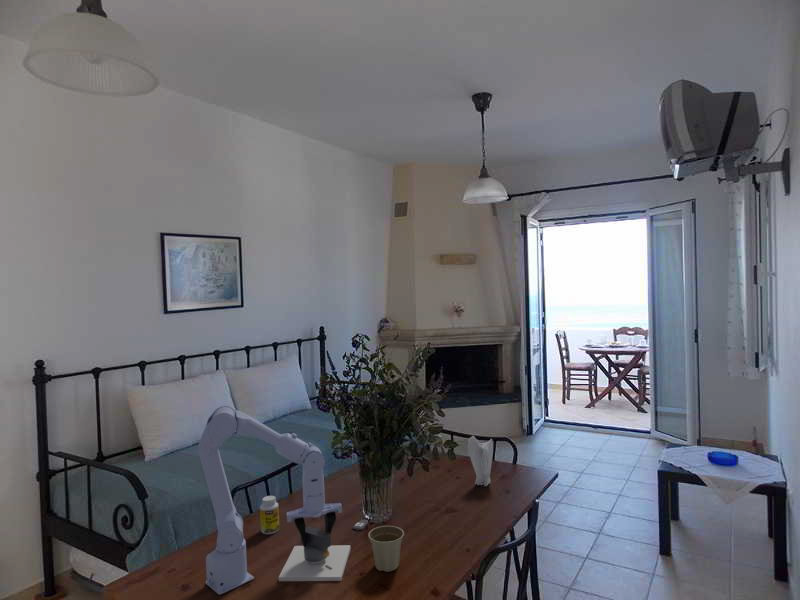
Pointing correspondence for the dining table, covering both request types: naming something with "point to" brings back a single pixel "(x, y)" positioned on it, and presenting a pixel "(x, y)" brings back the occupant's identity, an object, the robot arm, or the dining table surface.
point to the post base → (316, 565)
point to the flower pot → (386, 547)
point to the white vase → (481, 459)
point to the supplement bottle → (269, 515)
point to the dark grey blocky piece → (316, 544)
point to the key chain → (360, 525)
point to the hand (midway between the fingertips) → (316, 542)
